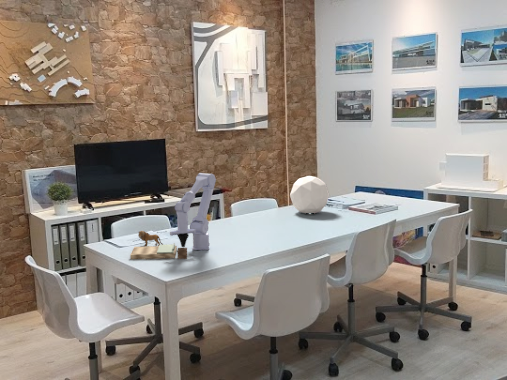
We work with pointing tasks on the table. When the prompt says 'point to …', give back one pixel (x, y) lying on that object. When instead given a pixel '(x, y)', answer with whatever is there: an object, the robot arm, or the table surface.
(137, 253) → the wooden frame
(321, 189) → the geometric form
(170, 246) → the lid
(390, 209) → the table surface
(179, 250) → the walnut cube
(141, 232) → the lion figurine
